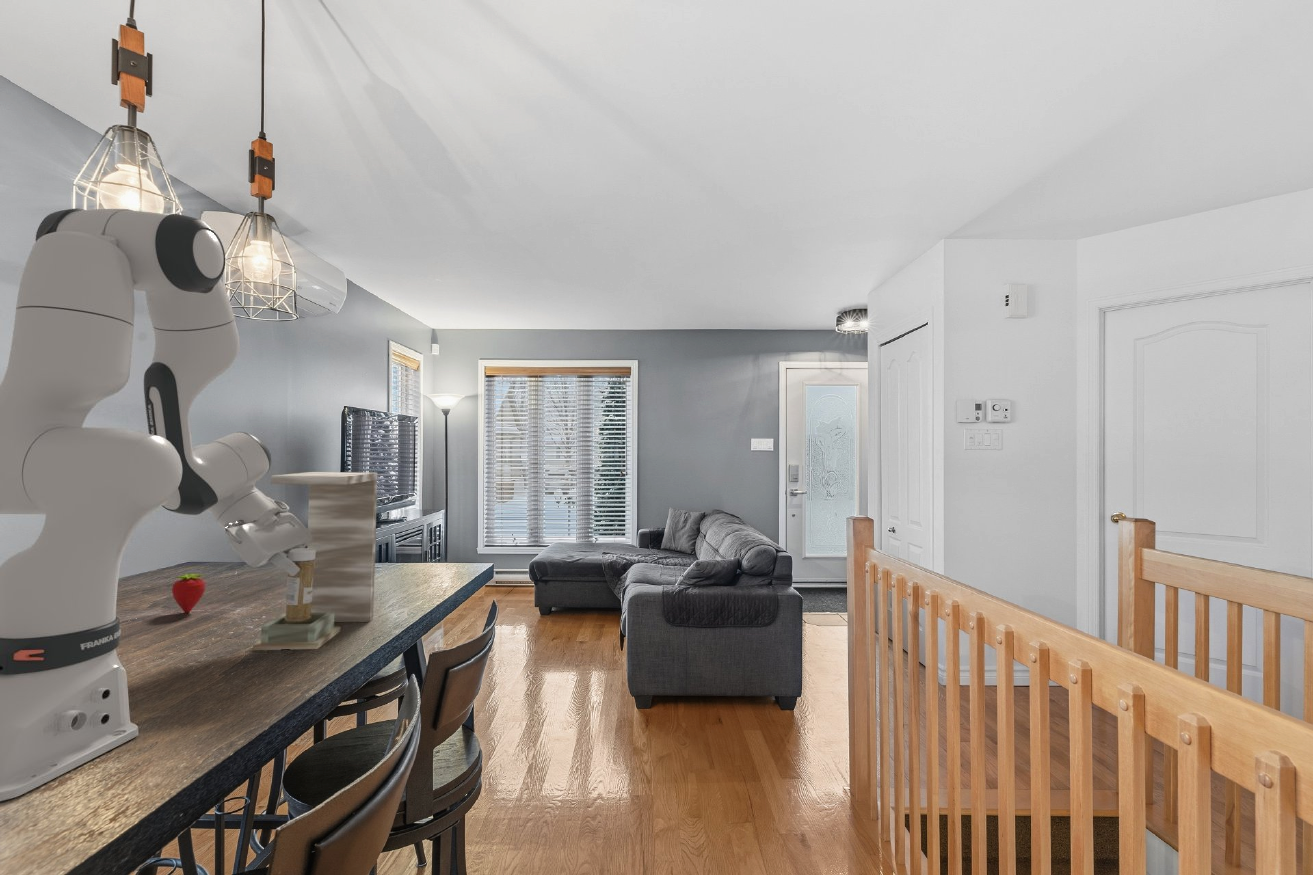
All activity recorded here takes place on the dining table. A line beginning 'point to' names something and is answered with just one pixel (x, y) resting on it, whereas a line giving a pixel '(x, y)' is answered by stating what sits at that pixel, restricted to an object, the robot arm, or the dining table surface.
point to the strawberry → (188, 591)
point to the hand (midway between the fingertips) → (304, 569)
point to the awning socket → (333, 558)
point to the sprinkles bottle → (300, 586)
